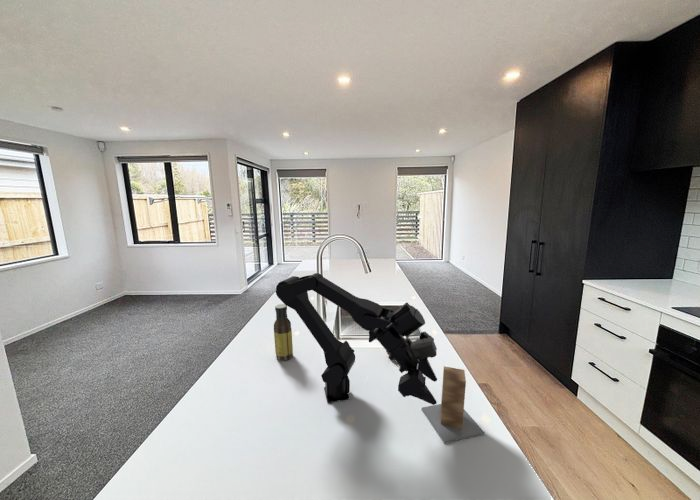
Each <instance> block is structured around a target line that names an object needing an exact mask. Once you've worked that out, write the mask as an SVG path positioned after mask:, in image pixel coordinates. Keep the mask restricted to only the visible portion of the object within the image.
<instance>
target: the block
mask: <svg viewBox="0 0 700 500" xmlns="http://www.w3.org/2000/svg"><path fill="white" fill-rule="evenodd" d="M466 384H467V380H466V373H465V369H463V368H462V369H461V368H455V367H450V366H444V365H443V373H442V386H441V387H442V388H441V389H442V390H441V400H440V401H441V403H440V404H441V424H442V425H446V426H450V427H454V428H458V429H462V424H463V412H464V410H465V398H466V397H465V396H466Z"/></svg>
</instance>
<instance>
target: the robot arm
mask: <svg viewBox="0 0 700 500" xmlns="http://www.w3.org/2000/svg"><path fill="white" fill-rule="evenodd" d="M310 291H313V292H314V293H316V294H318V295H320V297H323V298H324V299H326V300H327V301H329V302H330V303H332V304H334V305H336V306H337V307H339V308H341V309H342V310H344V311H345V312H346V313H348V315H350V317H351V318H352V320H353V321H354V322H355V324H357V325H358V326H359V327H360V328H362V329H363V330H365V331H368V342H369V343H372V342H373V341H374V340H377V341H378V343H379V344H380V345H381V346H382V347H383V348H384V350H385V352H386V351H387V352H388V353H389V355H388V359H389V360H390V361H393V360H394V362H395V363H396V364H397V365H398V366H399V368H398V371H399V372H400V373H401V374H402V373H404V372H406V373H405V374H403V375H401V376H400V377H399V381H398V386H397V391H398V392H399V394H400V395H401V396H402V397H403V398H406V397H409V396H411V397H414V398H417V399H419V400H421V401H424V402H426V403H427V404H431V406H433V405H437V400H436V399H435V396H434V395H433V393H432V392H431V391H430V389H429V388H428V386H427V385H426V382H427V381H426V379H429V380H431V381H433V382H437V381H438V377H437V376H436V374H435V372H434V369H433V368H432V365H431V364H430V362H429V359H428V358H431V359H432V358H435V357H436V356H437V345H436V344H435V339H434V337H432V335H430V334H429V333H428V332H426V331H421V332H420V333H419V338H416V339H415V341H414V340H413V341H412V340H411V339H410V338H408V336H410V335H412V334H413V333H415V332H416V331H417V330H418V329H420V328H422V327H423V326H424V325H425V324H426V320H425V318H424V316H423V315H422V313H421V311H420V310H419V309H417V308H416V307H415V306H413V305H410V304H409V302H405V303H404V304H402V306H401V307H399V308H398V309H397V310H396V311H395V310H394V309H390V308H387V307H383V306H381V304H379V303H377V302H374V301H372V300H370V299H366V298H361V297H358V296H355V295H353V293H350V292H349V291H347V290H346V289H344V288H342V287H341V286H339V285H337V284H336V283H334V282H332V281H330V280H329V279H327V278H326V277H324V276H323V275H322V274H321V273H319V272H315V273H313V274H310V275H304V276H300V277H299V276H297V275H296V276H295V275H294V276H293V275H292V276H290V277H288V278H286V279H283V280H281V281H280V282H278V283H277V284H276V288H275V294H276V297H277V298H278V299H279V300H280V301H281V302H282V304H285V305H286V306H287V308H288V307H289V308H290V309H292V310H294V311H295V312H296V314H297V315H298V316H299V318H300V320H301V321H302V323H303V324H304V326H305V327H306V328H307V329H308V331H309V332H310V334H311V335H312V337H313V338H314V339H315V341H316V342H317V344H318V345H319V346H320V348H321V349H322V351H323V354H324V355H323V356H324V359H325V360H324V361H325V364H326V365H327V367H326V368H325V370H324V371H323V373H321V379H322V382H323V383H325V384H324V387H323V391H324V394H325V398H326V402H327V404H330V403H335V402H343V401H347V400H348V401H349V400H350V396H349V395H350V394H349V393H350V392H351V391H350V390H351V389H350V384H351V381H350V378H349V376H348V375H349V373H350V371H351V369H352V368H353V366H354V364H355V363H356V354H355V353H354V352H355V350H354V348H352V347H351V345H350V343H349V342H348V341H347V340H344V341H343V342H342V341H340V340H338V339H337V338H336V336H335V335H334V333H333V332H332V330H331V329H330V327H328V325H327V323H326V322H325V321H324V319H323V317H321V315H320V314H319V312H318V310H317V309H316V308H315V306H313V303H312V302H311V300H310V298H309V295H308V294H309V293H308V292H310ZM404 337H406V338H404ZM387 352H386V353H387Z"/></svg>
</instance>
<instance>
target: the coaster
mask: <svg viewBox="0 0 700 500" xmlns="http://www.w3.org/2000/svg"><path fill="white" fill-rule="evenodd" d="M421 411H422V412H423V414H424V416H425V417H426V418H427V420H428V422H429V423H430V425H431V426H432V427H433V429H434V430H435V432H436V434H437V435H438V437H439V438H440V439H441V441H442V442H443V444H444V445H445V444H448V443H449V444H450V443H452V442H457V441H462V440H465V439H466V440H467V439H471V438H475V437H478V436H479V437H480V436H484V435H485V434H486V433H485V430H483V429H482V427H481V426H480V425H479V424H478V423H477V422H476V420H475V419H473V417H472V416H471V415H470V414H469V413H468V412H467V411H466V410H465V409H464V412H463V424H462V429H458V428H454V427H450V426H446V425H442V424H441V403H438V404H435V405H427V406H423V407H421Z"/></svg>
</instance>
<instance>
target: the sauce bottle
mask: <svg viewBox="0 0 700 500" xmlns="http://www.w3.org/2000/svg"><path fill="white" fill-rule="evenodd" d="M274 309H275V315H276V316H275V318H276V319H275V321H274V323H273V337H274V338H273V339H274V350H275V352H274V353H275V358H276V359H277V360H278V361H281V362H285V361H289V360H291V359H292V357H293V356H294V352H293V350H294V348H293V347H294V346H293V334H292V333H293V331H292V323H291V321H290V319H289V318H288V313H287V311H288V306H286V305H285V304H284V303H280V304H277V305H276V306H275V308H274Z"/></svg>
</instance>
